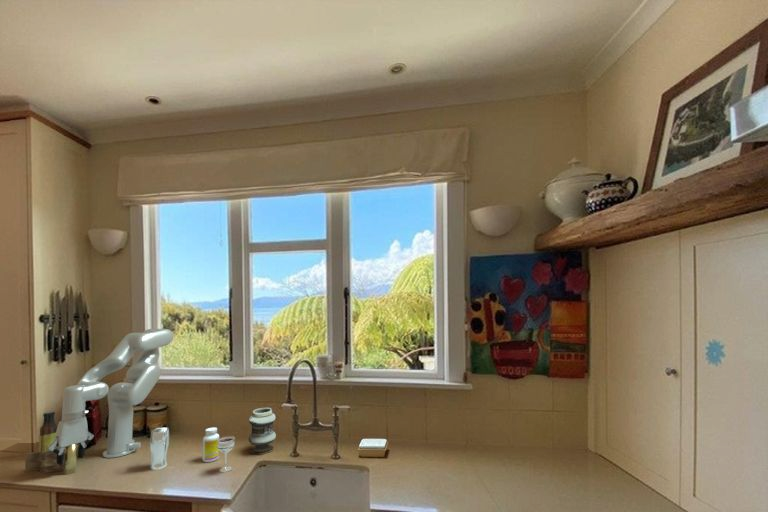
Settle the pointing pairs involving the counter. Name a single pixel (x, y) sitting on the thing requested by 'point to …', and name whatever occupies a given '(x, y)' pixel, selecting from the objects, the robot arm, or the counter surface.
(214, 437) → the supplement bottle
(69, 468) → the brass pin
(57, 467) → the wooden crate
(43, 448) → the sauce bottle
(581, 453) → the counter surface
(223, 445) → the wineglass
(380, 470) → the counter surface
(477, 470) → the counter surface
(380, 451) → the soap dish
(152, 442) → the beer glass
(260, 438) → the apothecary jar
